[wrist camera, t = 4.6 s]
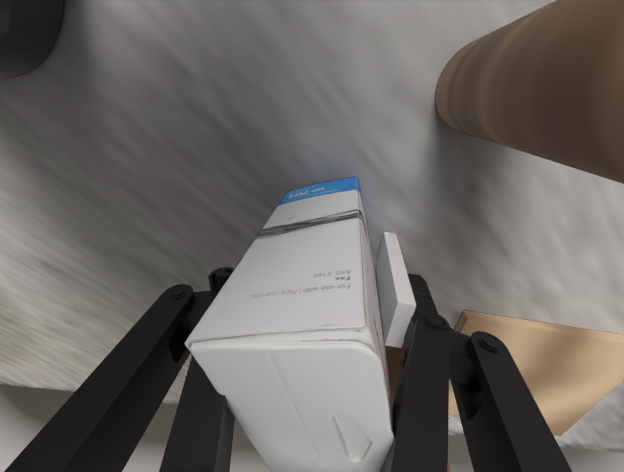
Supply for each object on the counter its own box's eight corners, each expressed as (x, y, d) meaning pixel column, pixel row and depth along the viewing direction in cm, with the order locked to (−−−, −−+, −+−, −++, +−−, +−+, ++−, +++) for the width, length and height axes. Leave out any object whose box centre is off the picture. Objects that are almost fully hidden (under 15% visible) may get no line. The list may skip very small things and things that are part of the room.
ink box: (285, 188, 16) (164, 337, 6) (364, 173, 15) (377, 330, 5) (315, 291, 20) (270, 490, 10) (380, 286, 19) (406, 508, 9)
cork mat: (419, 400, 24) (421, 408, 24) (463, 310, 19) (467, 318, 18) (554, 425, 23) (560, 436, 22) (646, 338, 17) (658, 348, 17)
